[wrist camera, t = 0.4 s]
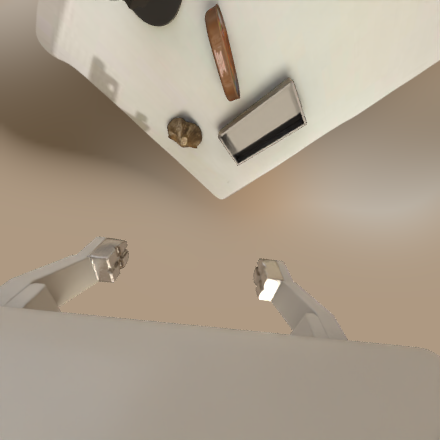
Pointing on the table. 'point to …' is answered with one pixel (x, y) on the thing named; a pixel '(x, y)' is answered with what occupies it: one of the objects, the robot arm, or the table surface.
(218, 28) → the tin
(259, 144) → the open rectangular box
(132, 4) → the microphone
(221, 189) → the table surface
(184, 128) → the fossilized seashell
